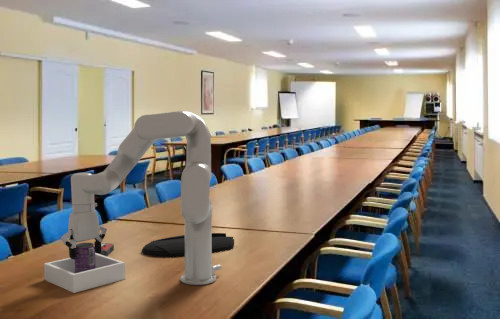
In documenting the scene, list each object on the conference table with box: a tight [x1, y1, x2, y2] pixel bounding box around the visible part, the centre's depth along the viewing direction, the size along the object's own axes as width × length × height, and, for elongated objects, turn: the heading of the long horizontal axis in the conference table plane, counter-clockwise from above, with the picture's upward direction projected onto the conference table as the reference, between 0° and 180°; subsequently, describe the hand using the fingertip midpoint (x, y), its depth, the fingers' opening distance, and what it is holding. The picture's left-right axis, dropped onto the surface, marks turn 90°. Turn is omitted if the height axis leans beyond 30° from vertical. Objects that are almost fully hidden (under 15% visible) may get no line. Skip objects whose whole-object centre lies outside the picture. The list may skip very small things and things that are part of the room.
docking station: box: [141, 232, 235, 258], centre depth 234 cm, size 25×40×5 cm, turn 117°
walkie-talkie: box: [98, 242, 115, 257], centre depth 223 cm, size 9×4×20 cm
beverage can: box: [75, 242, 96, 273], centre depth 190 cm, size 7×7×12 cm
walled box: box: [43, 253, 126, 294], centre depth 191 cm, size 20×20×6 cm
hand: (85, 255), depth 190 cm, fingers open, 9 cm apart
